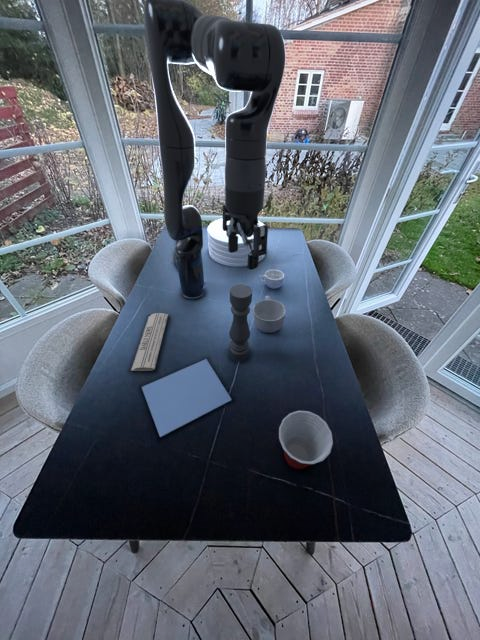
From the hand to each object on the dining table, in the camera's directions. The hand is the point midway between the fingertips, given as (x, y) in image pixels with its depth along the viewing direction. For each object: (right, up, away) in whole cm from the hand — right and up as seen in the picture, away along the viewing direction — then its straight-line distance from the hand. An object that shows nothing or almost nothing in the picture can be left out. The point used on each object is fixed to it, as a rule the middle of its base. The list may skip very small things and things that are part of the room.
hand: (242, 259), depth 60 cm
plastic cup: (+13, -46, +2) cm, 48 cm away
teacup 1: (+12, +1, +50) cm, 52 cm away
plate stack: (-2, +20, +70) cm, 73 cm away
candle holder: (-1, -25, +23) cm, 34 cm away
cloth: (-15, -34, +13) cm, 40 cm away
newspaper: (-30, -21, +26) cm, 45 cm away
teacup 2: (+9, -15, +34) cm, 38 cm away
